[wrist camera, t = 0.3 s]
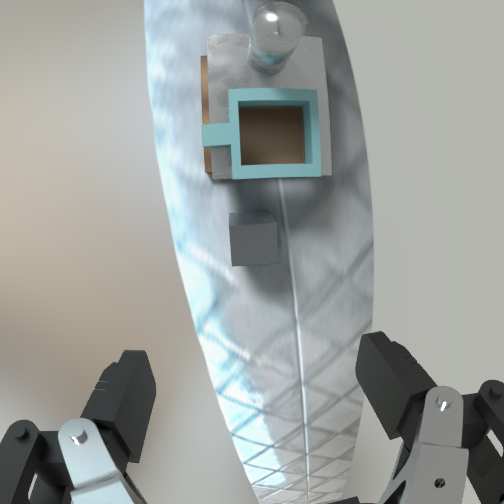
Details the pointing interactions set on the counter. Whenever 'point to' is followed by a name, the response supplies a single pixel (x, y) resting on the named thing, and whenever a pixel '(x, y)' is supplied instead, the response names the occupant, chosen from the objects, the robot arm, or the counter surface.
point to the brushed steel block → (253, 238)
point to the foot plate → (259, 132)
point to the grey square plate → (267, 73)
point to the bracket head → (269, 97)
